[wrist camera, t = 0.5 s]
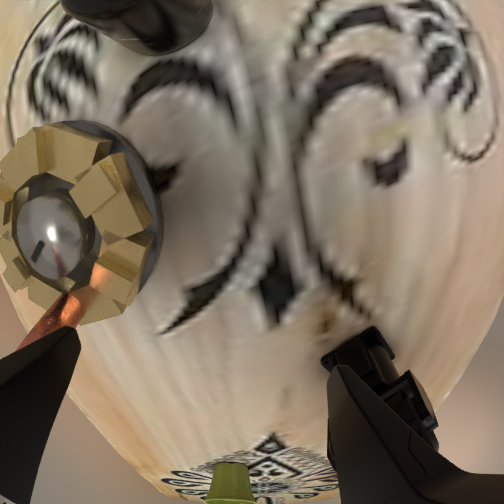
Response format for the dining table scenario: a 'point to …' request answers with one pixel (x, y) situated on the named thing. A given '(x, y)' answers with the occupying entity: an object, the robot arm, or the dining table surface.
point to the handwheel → (90, 203)
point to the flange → (79, 218)
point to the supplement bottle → (144, 21)
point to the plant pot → (230, 485)
